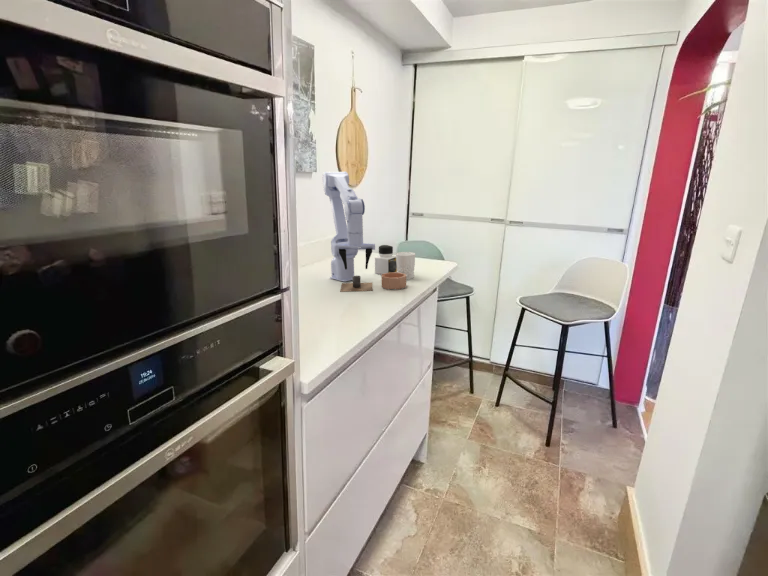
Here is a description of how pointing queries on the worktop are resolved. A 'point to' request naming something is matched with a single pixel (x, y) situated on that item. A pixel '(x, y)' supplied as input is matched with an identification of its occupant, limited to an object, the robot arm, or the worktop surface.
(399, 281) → the bowl
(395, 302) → the worktop surface
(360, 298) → the worktop surface
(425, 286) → the worktop surface
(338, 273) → the robot arm
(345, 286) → the lid
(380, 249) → the medicine bottle
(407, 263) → the white cup
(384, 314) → the worktop surface
